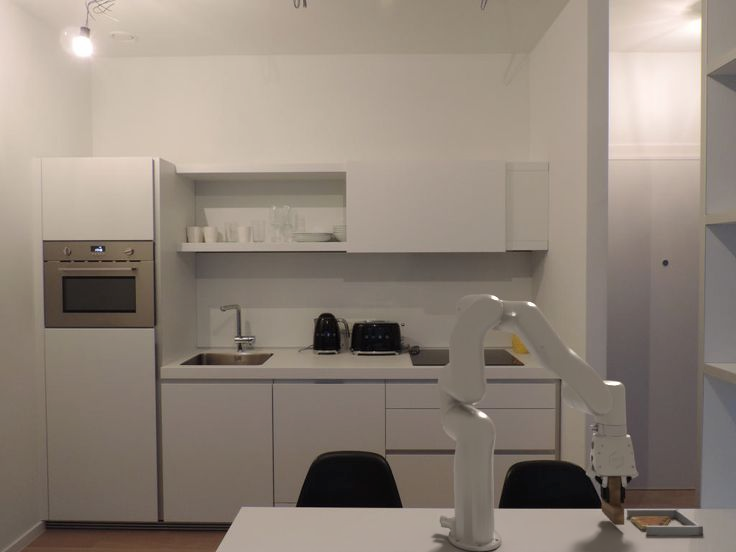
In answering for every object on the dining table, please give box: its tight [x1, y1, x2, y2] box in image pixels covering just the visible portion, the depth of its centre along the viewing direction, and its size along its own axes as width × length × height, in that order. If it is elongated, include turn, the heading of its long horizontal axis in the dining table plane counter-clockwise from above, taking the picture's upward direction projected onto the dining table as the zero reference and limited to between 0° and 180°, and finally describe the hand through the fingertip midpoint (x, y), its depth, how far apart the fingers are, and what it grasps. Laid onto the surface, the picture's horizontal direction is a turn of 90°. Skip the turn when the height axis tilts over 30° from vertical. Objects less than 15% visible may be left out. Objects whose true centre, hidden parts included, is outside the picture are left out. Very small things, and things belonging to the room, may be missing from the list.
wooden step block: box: [601, 476, 625, 526], centre depth 143 cm, size 3×8×11 cm, turn 178°
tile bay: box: [626, 508, 704, 536], centre depth 142 cm, size 14×12×2 cm
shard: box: [630, 516, 672, 531], centre depth 142 cm, size 11×8×2 cm
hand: (613, 500), depth 143 cm, fingers closed on wooden step block, 3 cm apart
